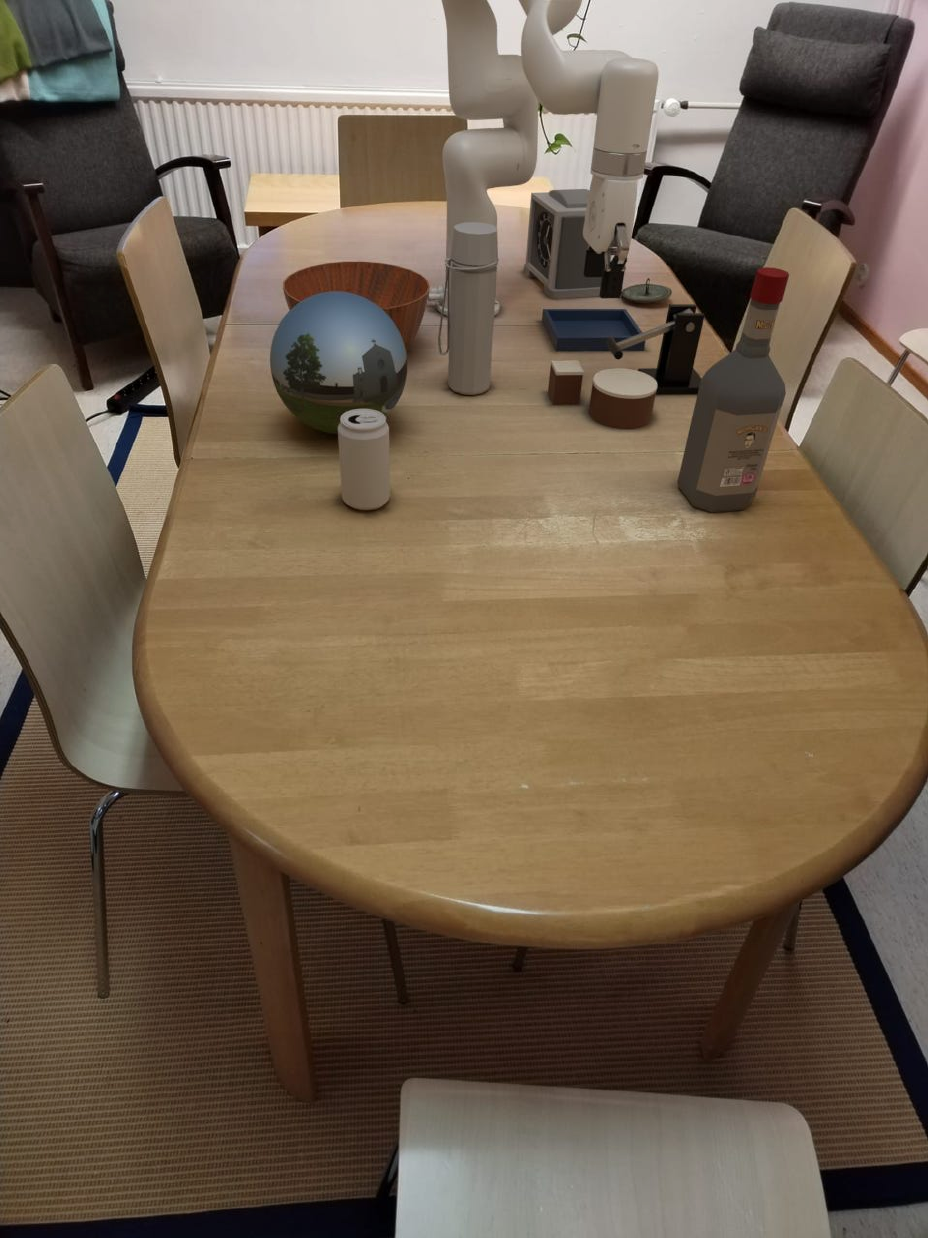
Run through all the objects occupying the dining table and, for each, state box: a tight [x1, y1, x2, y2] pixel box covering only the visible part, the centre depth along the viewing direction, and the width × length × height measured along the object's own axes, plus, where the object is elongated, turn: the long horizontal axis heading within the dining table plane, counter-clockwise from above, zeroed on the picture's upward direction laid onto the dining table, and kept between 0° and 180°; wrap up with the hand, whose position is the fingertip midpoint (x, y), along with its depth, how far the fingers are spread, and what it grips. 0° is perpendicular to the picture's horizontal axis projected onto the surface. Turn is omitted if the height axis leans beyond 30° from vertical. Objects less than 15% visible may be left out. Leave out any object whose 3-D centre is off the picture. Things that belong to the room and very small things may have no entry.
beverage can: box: [337, 409, 391, 511], centre depth 109 cm, size 6×6×12 cm
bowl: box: [282, 261, 431, 352], centre depth 148 cm, size 25×25×11 cm
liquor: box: [677, 266, 790, 513], centre depth 108 cm, size 9×9×30 cm
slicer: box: [637, 303, 706, 396], centre depth 141 cm, size 10×8×13 cm
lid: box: [621, 277, 673, 304], centre depth 176 cm, size 11×10×5 cm
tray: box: [541, 308, 647, 352], centre depth 160 cm, size 17×15×2 cm
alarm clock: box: [523, 188, 614, 300], centre depth 178 cm, size 18×13×18 cm
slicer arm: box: [606, 309, 693, 360], centre depth 139 cm, size 14×6×2 cm, turn 96°
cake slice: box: [547, 360, 584, 406], centre depth 137 cm, size 4×4×6 cm
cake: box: [588, 367, 657, 430], centre depth 134 cm, size 10×10×6 cm
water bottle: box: [437, 222, 500, 396], centre depth 133 cm, size 9×8×25 cm
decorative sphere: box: [269, 291, 408, 435], centre depth 122 cm, size 20×20×20 cm
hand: (601, 286), depth 130 cm, fingers open, 9 cm apart
